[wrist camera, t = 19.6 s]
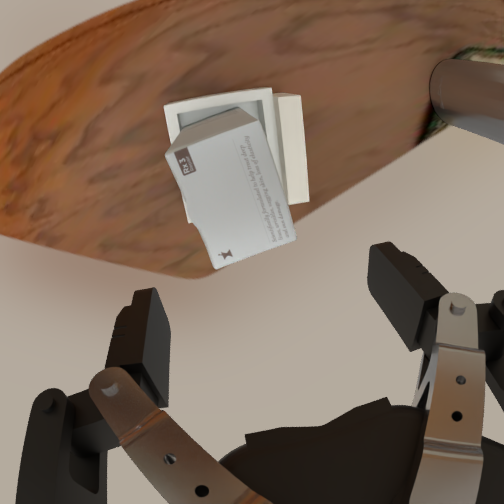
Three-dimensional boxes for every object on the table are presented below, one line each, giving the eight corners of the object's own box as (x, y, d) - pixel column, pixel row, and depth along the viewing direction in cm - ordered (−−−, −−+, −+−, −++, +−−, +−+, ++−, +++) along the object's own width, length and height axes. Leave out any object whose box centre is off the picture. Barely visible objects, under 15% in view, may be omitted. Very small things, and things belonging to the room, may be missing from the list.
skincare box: (262, 176, 33) (305, 245, 20) (208, 197, 33) (216, 277, 21) (236, 101, 29) (267, 117, 16) (177, 123, 29) (160, 157, 16)
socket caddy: (263, 87, 29) (271, 87, 26) (275, 191, 35) (284, 205, 32) (167, 103, 29) (163, 105, 25) (189, 207, 35) (188, 223, 31)
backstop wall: (283, 92, 30) (300, 95, 25) (292, 181, 35) (309, 201, 30) (264, 94, 30) (277, 97, 25) (274, 184, 35) (288, 204, 30)
